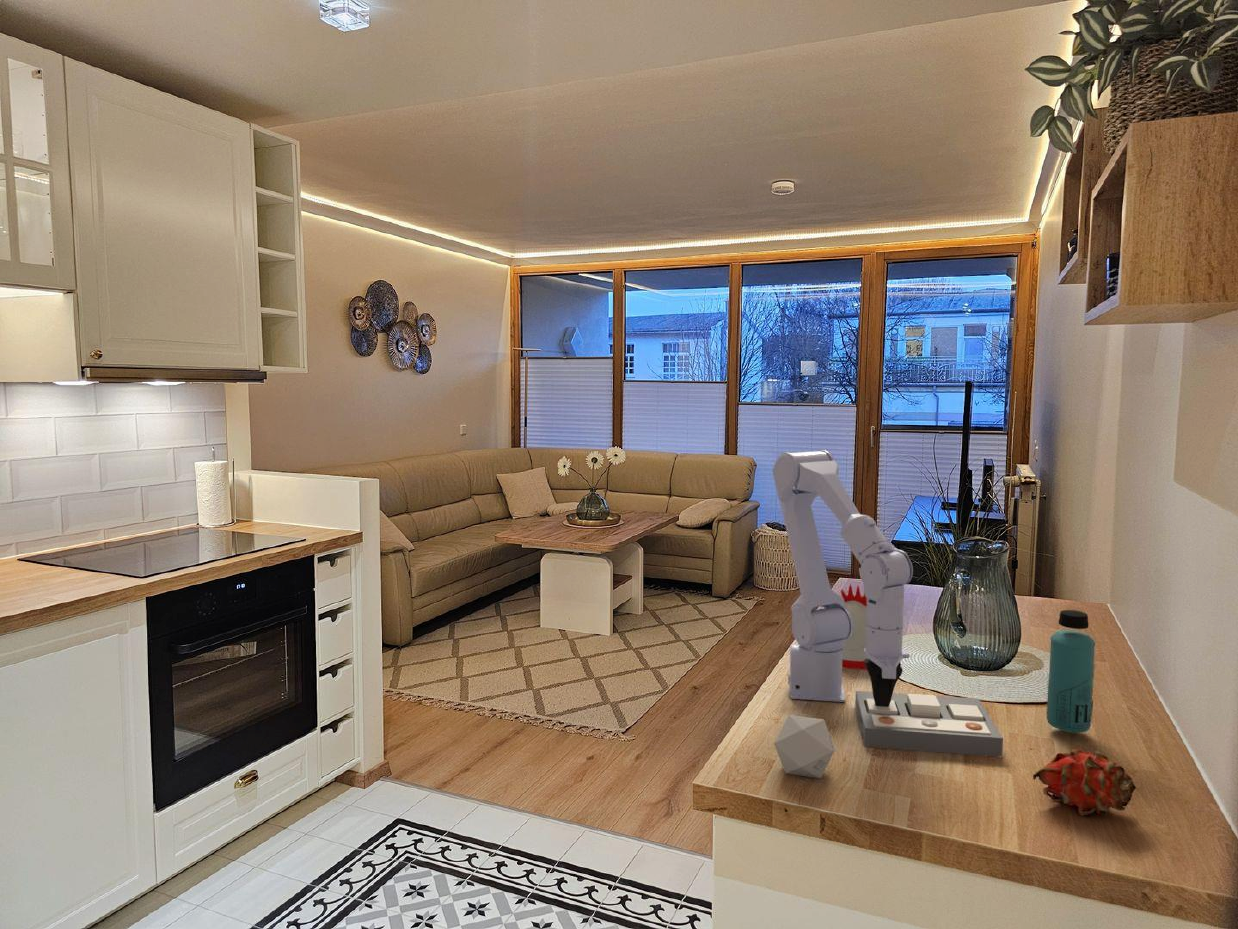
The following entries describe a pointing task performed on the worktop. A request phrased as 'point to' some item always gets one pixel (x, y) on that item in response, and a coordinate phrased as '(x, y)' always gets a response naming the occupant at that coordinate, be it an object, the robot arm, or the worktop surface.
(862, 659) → the kitchen timer
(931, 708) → the middle button
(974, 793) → the worktop surface
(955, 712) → the right button
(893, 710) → the left button
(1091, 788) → the dragon fruit
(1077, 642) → the beverage bottle
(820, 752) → the die
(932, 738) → the button board
